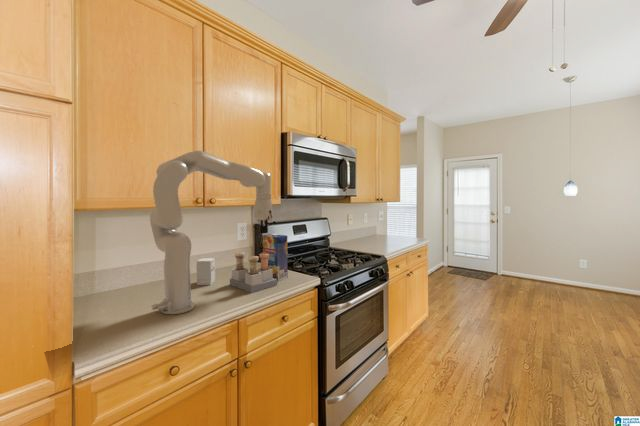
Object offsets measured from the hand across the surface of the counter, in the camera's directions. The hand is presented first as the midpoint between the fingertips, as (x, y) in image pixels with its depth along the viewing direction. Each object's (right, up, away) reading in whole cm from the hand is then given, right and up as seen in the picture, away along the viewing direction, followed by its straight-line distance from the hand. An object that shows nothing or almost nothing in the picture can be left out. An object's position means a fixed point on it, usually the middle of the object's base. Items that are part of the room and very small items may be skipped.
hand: (264, 232), depth 148 cm
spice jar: (-4, -20, -6) cm, 21 cm away
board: (-6, -27, +2) cm, 28 cm away
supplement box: (-31, -27, +4) cm, 42 cm away
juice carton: (+4, -26, +15) cm, 30 cm away
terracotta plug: (0, -20, +1) cm, 20 cm away
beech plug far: (-13, -20, +2) cm, 23 cm away
